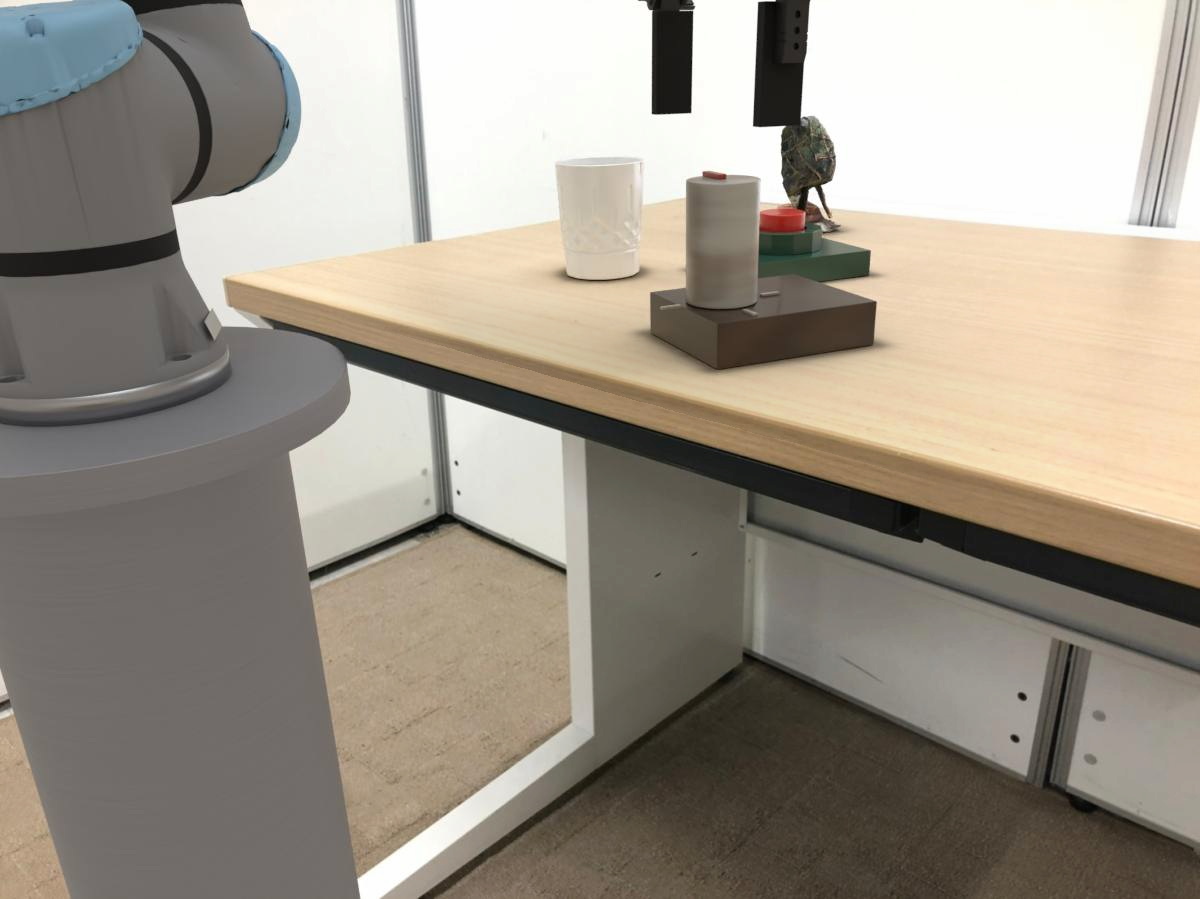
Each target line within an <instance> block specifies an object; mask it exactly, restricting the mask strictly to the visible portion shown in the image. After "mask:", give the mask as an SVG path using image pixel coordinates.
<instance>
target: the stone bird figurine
mask: <svg viewBox="0 0 1200 899" xmlns="http://www.w3.org/2000/svg"><path fill="white" fill-rule="evenodd" d="M780 139H781V141H780V156H781V171H780V175H781V177H782V181H781V182H782V183H781V184H782V188H783V189H784V192H785V194H786V196H787V198H788V200H789V202H790V203H789V202H788V203H783V204H781V205H777V207H776V209H798V210H802V211H805V222H806V223H812V224H816V225H820V226H821V228H822V234H823V233H825V232H832V231H835V230H838V228H840V227H841V226H842V225H841V224H839V223H836V222H835V221H832V218H833V216H834V215H833V211H832V210H831V209H830V207H829V206H828V204H827V202H826V194H825V192H824V189H823V187H822V186H824V185H827V184H828V183H831V182H832V181H833V179H834V176H835V171H836V167H837V154H836V152H835V144H834V142H833V141H832V139H831V137H830V135H829V133H828V130H827V129H826V128H825V127H824V124H822V122H821V121H820V119H819V118H818V117H816V116H815V115H808V116H805V115H804V116H801V123H800V125H796V126H783V128H782V130H781V134H780ZM812 188H814V189H815V191H816V192H817V195H818V198H819V202H821V206H822V207H823V210H824V212H825V214H826V216H827V217H828V218H826V217H825V216H824V215H823V214H822V210H821V209H820V207H819V206H818V205H817V204H814V203H813V202H811V201H809V200H808V199H809V195H810V194H809V193H810V190H812Z"/></svg>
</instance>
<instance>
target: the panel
mask: <svg viewBox="0 0 1200 899" xmlns="http://www.w3.org/2000/svg"><path fill="white" fill-rule="evenodd" d="M649 303H650V304H649V309H650V310H649V312H650V313H649V314H650V316H649V319H650V322H649V323H650V324H649V325H650V334H652V335H654V336H655V337H657V338H659V339H661V340H663V341H664V342H667V343H668V344H670V345H672V346H674V347H676V348H677V349H680V351H683V352H685V353H687V354H689V355H691V356H692V357H694V358H696V359H698V360H699V361H702V362H703V363H705V364H706V365H708V366H710V367H712V368H714V369H716V370H721V369H722V370H723V369H729V368H734V367H741V366H747V365H752V364H760V363H766V362H773V361H778V360H785V359H792V358H797V357H798V358H799V357H804V356H809V355H816V354H824V353H828V352H835V351H836V352H837V351H842V350H847V349H855V348H860V347H866V346H872V345H874V343H875V333H876V332H875V329H876V316H877V305H878V302H877V300H875V299H871V298H869V297H864V296H863V295H859V294H856V293H854V292H853V293H852V292H849V291H846V290H844V289H841V288H837V287H836V286H835V287H834V286H831V285H828V284H826V283H823V282H821V281H820V282H817V281H814V280H811V279H808V278H804V277H801V276H798V275H795V274H791V275H783V276H775V277H767V278H759V279H758V289H757V302H756V303H755V304H753V305H750V306H747V307H742V308H734V309H708V308H700V307H696V306H692V305H690V304H688V303H687V302H686V287H680V288H672V289H663V290H657V291H650V292H649Z"/></svg>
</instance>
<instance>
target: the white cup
mask: <svg viewBox="0 0 1200 899" xmlns="http://www.w3.org/2000/svg"><path fill="white" fill-rule="evenodd" d="M644 164H645V160H644V159H643V157H637V156H628V155H623V156H622V155H599V156H598V155H597V156H582V157H570V158H564V159H559V160H556V161H554V171H555V181H556V192H557V204H558V214H559V215H558V216H559V226H560V231H561V242H562V246H563V247H564V249H563V250H564V260H565V271H566V275H567V276H569V277H570V278H571V277H572V278H575V279H580V280H589V281H590V280H592V281H593V280H594V281H595V280H596V281H597V280H598V281H599V280H600V281H602V280H605V281H606V280H616V279H623V278H629V277H631V276H634V275H636V274H638V273H639V272H640V255H641V253H640V251H641V250H640V249H641V247H640V244H641V241H642V226H643V224H642V223H643V210H644V209H643V207H644V205H643V204H644V167H645V165H644Z"/></svg>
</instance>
